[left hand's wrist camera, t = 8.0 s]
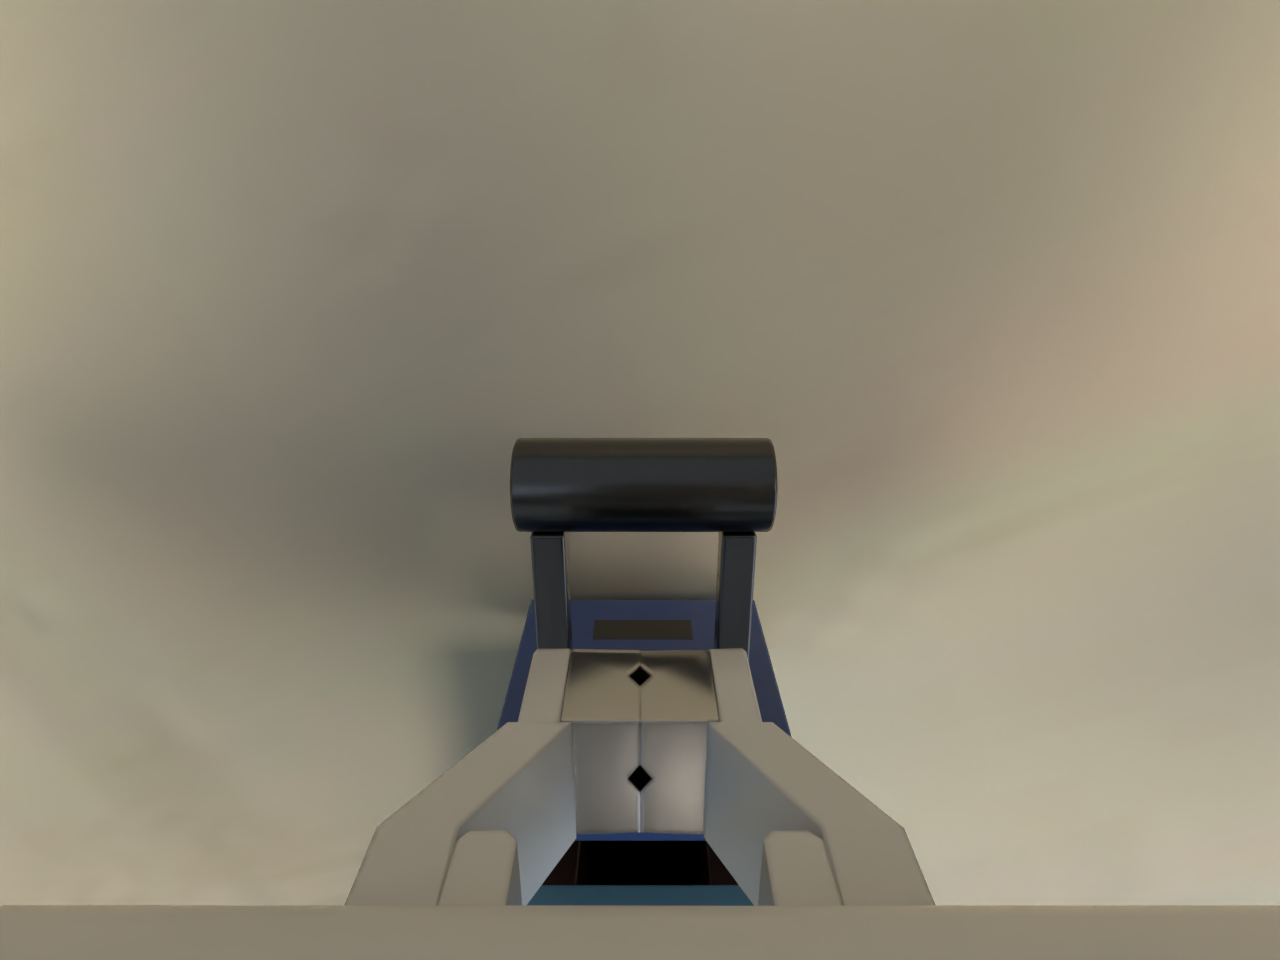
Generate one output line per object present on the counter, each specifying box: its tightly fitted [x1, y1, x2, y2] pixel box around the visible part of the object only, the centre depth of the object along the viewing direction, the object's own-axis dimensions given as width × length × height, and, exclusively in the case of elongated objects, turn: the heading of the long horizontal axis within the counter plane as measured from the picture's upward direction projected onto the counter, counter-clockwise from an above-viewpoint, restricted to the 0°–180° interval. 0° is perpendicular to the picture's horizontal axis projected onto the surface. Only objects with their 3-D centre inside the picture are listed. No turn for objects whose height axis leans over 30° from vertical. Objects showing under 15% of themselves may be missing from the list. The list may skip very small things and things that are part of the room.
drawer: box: [497, 438, 792, 885], centre depth 18 cm, size 25×6×6 cm, turn 0°
